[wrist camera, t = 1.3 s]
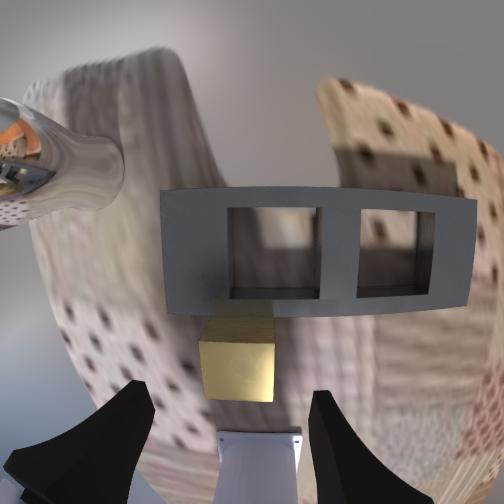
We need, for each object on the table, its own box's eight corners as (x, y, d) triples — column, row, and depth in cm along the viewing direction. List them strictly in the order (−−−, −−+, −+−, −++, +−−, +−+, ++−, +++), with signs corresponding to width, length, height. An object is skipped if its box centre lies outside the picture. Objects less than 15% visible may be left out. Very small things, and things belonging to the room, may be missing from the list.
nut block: (273, 352, 20) (272, 401, 15) (221, 351, 21) (204, 398, 15) (274, 304, 20) (274, 343, 14) (218, 303, 20) (198, 341, 14)
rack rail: (450, 296, 19) (466, 305, 16) (178, 301, 20) (167, 313, 18) (459, 199, 17) (477, 199, 15) (172, 191, 19) (160, 190, 16)
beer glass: (139, 199, 19) (-50, 210, 4) (73, 229, 20) (-82, 265, 5) (119, 117, 18) (-35, 51, 3) (58, 154, 19) (-86, 139, 4)
